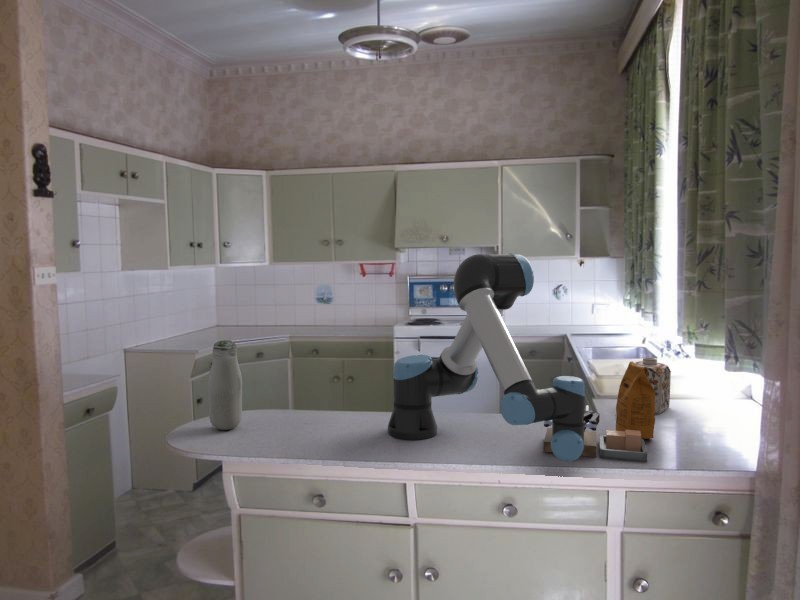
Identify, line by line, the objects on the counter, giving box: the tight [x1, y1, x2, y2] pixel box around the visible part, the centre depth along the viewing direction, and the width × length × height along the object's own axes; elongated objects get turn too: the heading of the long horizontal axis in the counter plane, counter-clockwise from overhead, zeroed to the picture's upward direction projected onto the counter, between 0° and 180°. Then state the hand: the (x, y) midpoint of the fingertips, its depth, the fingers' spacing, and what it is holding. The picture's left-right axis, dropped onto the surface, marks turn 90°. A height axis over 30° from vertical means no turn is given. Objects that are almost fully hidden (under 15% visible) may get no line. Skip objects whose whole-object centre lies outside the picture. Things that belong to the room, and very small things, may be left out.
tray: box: [599, 434, 648, 462], centre depth 179 cm, size 12×14×2 cm
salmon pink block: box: [605, 429, 625, 450], centre depth 181 cm, size 5×5×4 cm
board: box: [543, 427, 597, 458], centre depth 183 cm, size 14×14×3 cm
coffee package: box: [615, 361, 656, 440], centre depth 193 cm, size 10×12×22 cm
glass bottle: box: [207, 339, 243, 431], centre depth 199 cm, size 10×10×28 cm
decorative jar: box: [634, 357, 672, 415], centre depth 225 cm, size 12×12×18 cm
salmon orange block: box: [625, 430, 641, 452], centre depth 178 cm, size 5×5×4 cm
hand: (571, 408), depth 187 cm, fingers closed on ceramic mug, 8 cm apart
